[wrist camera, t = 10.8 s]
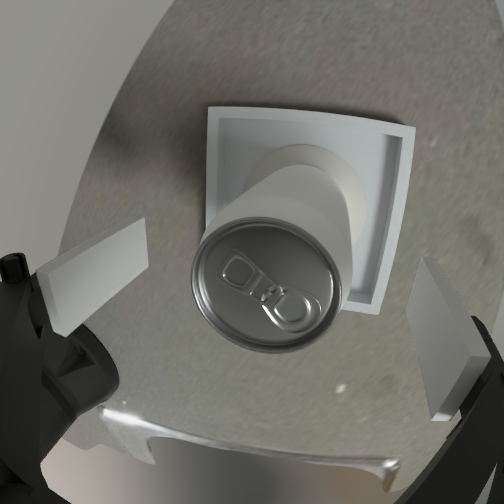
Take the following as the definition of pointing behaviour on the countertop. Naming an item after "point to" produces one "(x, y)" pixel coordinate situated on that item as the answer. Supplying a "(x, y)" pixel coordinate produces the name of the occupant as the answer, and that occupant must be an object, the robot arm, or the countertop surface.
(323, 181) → the can
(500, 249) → the countertop surface
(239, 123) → the flange tray
